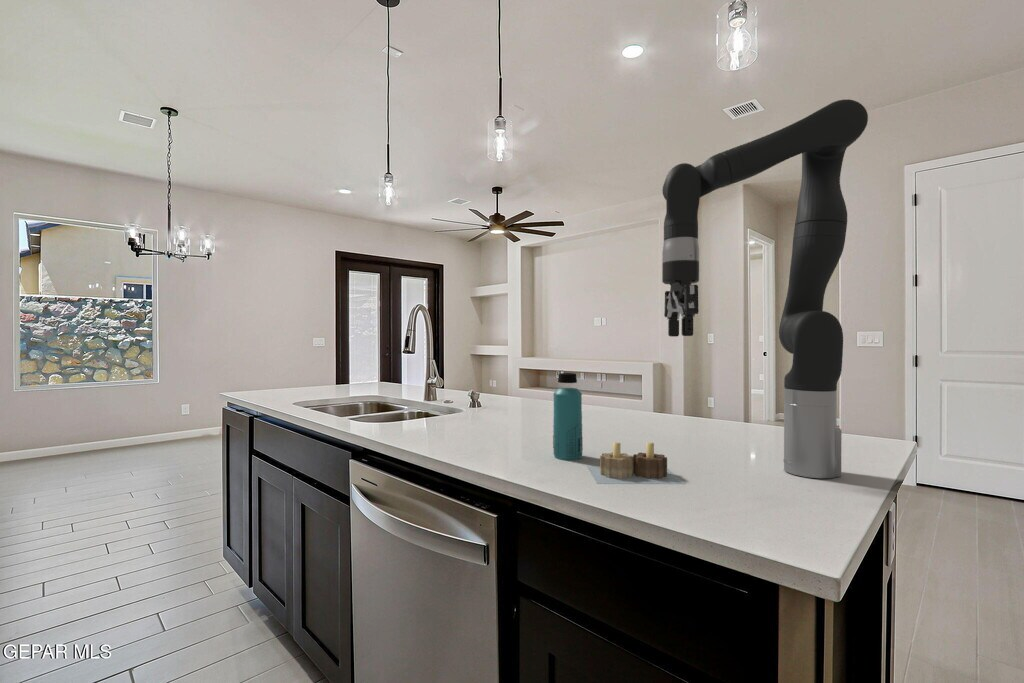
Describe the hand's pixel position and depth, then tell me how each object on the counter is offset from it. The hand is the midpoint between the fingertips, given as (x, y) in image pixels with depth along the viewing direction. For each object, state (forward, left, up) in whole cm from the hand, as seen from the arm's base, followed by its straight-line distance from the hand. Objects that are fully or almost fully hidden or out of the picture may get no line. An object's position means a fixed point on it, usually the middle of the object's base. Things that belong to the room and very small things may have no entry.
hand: (680, 336), depth 105 cm
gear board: (+13, +12, -28) cm, 33 cm away
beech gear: (+16, +12, -27) cm, 33 cm away
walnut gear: (+10, +12, -27) cm, 31 cm away
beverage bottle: (+24, -2, -28) cm, 37 cm away
